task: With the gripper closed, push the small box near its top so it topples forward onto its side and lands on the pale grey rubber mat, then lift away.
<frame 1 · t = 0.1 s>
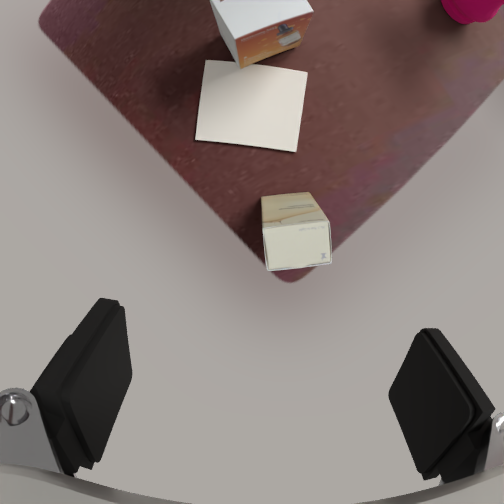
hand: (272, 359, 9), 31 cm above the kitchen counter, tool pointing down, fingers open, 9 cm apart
small box: (260, 39, 31), on the kitchen counter, touching mat
mat: (251, 104, 35), on the kitchen counter
skincare box: (285, 210, 40), on the kitchen counter
pepper mill: (456, 6, 27), on the kitchen counter
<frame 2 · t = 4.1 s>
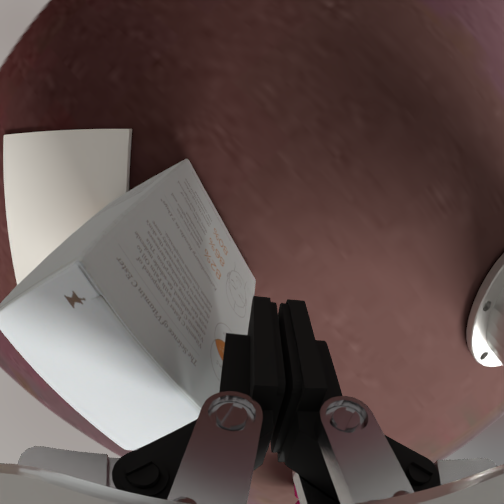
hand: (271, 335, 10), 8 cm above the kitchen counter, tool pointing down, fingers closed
small box: (183, 239, 18), on the kitchen counter, touching gripper, mat
mat: (61, 223, 18), on the kitchen counter
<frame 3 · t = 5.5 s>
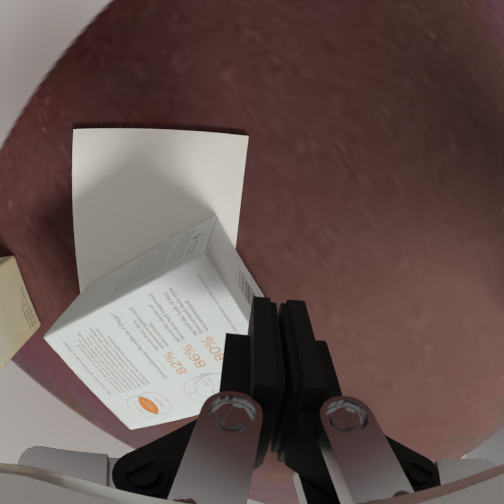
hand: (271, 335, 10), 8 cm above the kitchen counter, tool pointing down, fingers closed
small box: (257, 296, 16), point 3 cm above the kitchen counter, touching mat
mat: (150, 234, 18), on the kitchen counter
skincare box: (12, 290, 20), on the kitchen counter
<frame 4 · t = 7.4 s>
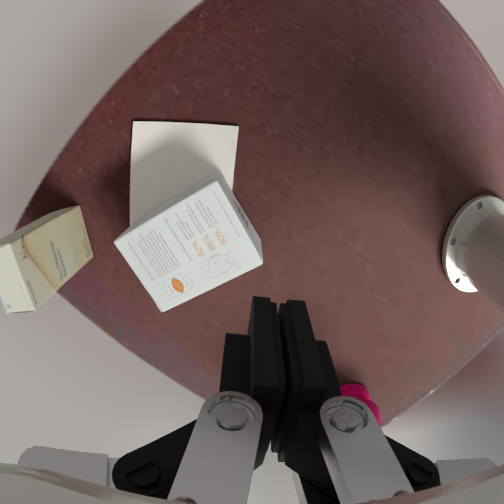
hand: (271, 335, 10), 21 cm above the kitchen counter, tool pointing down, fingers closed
small box: (244, 213, 27), point 3 cm above the kitchen counter, touching mat
mat: (180, 185, 30), on the kitchen counter
skincare box: (72, 232, 31), on the kitchen counter
pepper mill: (346, 396, 41), on the kitchen counter
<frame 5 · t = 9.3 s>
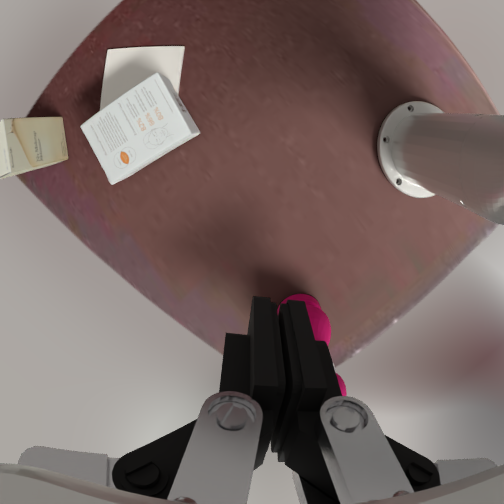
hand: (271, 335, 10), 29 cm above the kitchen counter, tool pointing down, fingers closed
small box: (182, 102, 31), point 3 cm above the kitchen counter, touching mat
mat: (138, 93, 33), on the kitchen counter
skincare box: (54, 141, 35), on the kitchen counter
pepper mill: (298, 311, 44), on the kitchen counter
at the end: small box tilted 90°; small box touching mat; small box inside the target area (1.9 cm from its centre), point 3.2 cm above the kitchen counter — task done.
